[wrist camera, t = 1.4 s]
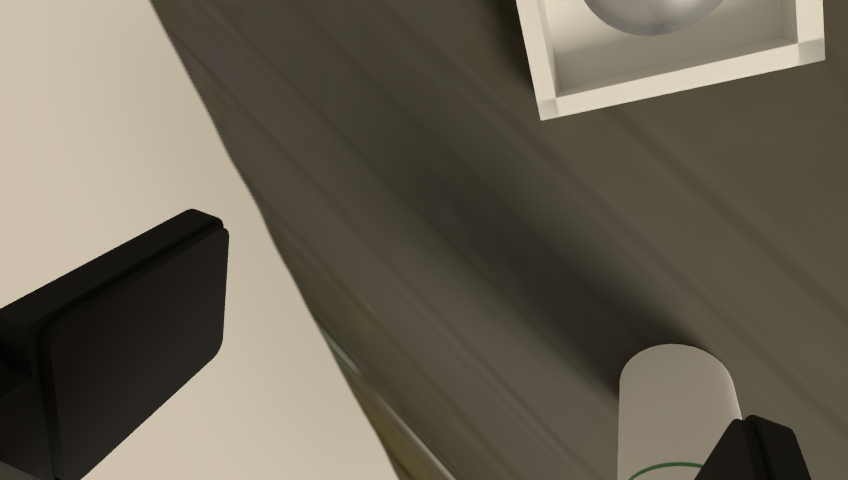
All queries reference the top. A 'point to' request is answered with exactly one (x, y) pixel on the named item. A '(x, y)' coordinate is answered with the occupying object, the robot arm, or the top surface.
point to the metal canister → (651, 14)
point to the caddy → (660, 51)
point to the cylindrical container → (672, 412)
